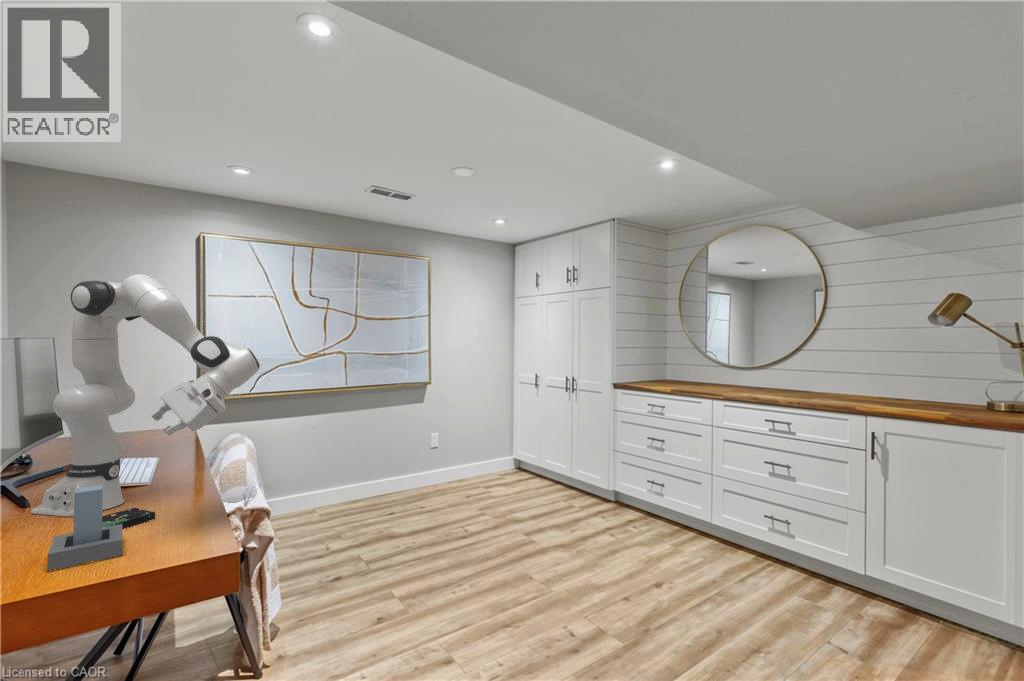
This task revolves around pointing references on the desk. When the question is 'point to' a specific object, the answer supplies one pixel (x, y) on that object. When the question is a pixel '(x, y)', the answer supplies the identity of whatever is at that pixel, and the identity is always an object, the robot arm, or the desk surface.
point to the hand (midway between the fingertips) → (159, 425)
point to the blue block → (88, 514)
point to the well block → (84, 548)
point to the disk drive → (128, 517)
